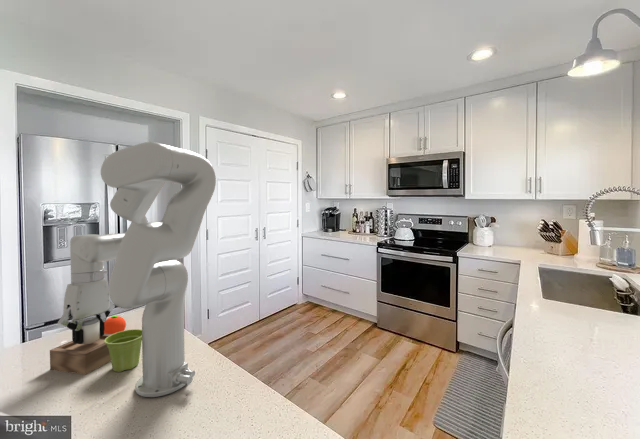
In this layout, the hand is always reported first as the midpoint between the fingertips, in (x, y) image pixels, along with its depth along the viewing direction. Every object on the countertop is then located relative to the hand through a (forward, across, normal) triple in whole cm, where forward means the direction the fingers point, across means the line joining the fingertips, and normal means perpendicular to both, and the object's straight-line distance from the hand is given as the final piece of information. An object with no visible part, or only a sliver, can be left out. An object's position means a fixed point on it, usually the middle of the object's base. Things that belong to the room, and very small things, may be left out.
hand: (89, 338), depth 83 cm
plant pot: (+7, -1, +13) cm, 15 cm away
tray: (+7, 0, 0) cm, 7 cm away
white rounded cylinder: (+1, 0, 0) cm, 1 cm away
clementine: (+7, -15, -10) cm, 19 cm away
